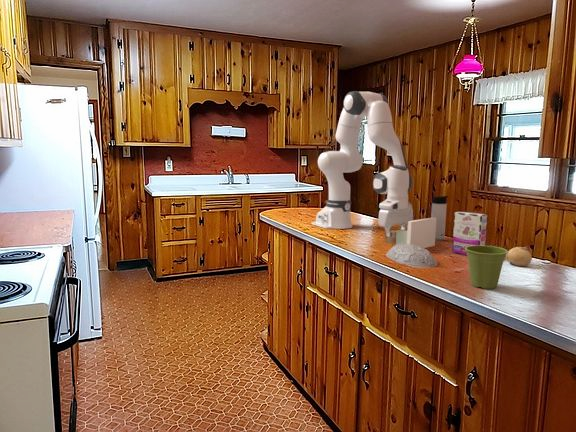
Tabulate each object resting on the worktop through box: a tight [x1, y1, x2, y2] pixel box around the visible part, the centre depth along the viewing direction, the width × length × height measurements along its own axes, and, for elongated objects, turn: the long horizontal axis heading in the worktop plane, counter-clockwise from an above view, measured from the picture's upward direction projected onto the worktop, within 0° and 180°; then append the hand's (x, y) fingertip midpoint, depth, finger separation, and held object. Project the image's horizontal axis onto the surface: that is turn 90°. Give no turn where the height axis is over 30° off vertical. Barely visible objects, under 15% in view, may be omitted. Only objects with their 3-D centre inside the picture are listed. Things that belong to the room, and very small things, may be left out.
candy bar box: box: [451, 211, 488, 257], centre depth 171 cm, size 11×5×16 cm, turn 40°
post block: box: [395, 217, 437, 249], centre depth 184 cm, size 9×18×12 cm, turn 130°
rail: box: [384, 229, 397, 245], centre depth 190 cm, size 14×4×5 cm, turn 40°
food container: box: [385, 243, 439, 269], centre depth 164 cm, size 16×25×7 cm, turn 21°
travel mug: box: [430, 195, 449, 242], centre depth 198 cm, size 6×7×20 cm
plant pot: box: [465, 245, 509, 290], centre depth 132 cm, size 12×12×11 cm
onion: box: [505, 246, 533, 267], centre depth 157 cm, size 8×8×7 cm
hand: (395, 235), depth 192 cm, fingers open, 8 cm apart
